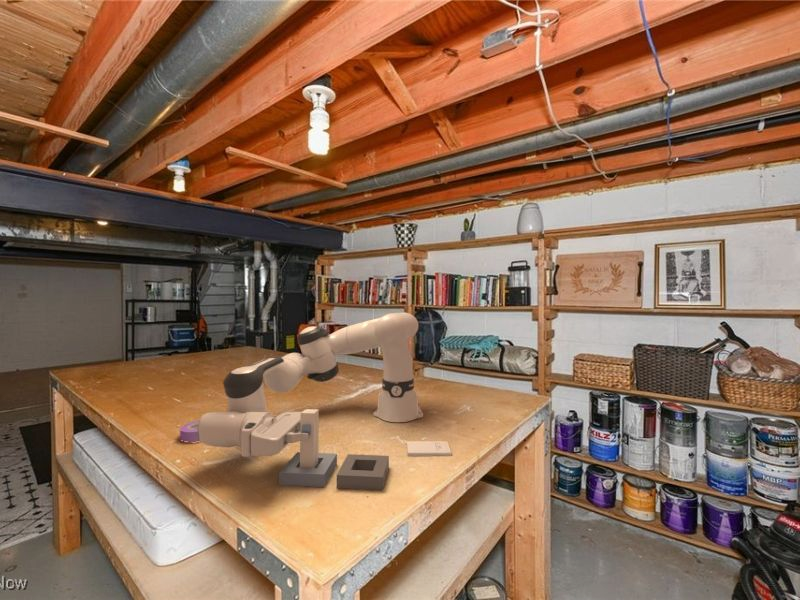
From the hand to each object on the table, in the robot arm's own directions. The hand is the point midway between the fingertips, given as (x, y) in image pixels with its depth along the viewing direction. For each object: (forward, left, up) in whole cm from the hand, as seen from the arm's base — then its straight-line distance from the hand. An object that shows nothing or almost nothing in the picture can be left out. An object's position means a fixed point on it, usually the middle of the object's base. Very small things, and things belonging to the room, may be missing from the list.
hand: (312, 431), depth 88 cm
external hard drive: (-17, +29, -12) cm, 36 cm away
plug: (0, -1, -9) cm, 9 cm away
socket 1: (0, -1, -11) cm, 11 cm away
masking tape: (-21, -45, -11) cm, 51 cm away
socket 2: (0, +13, -11) cm, 17 cm away
